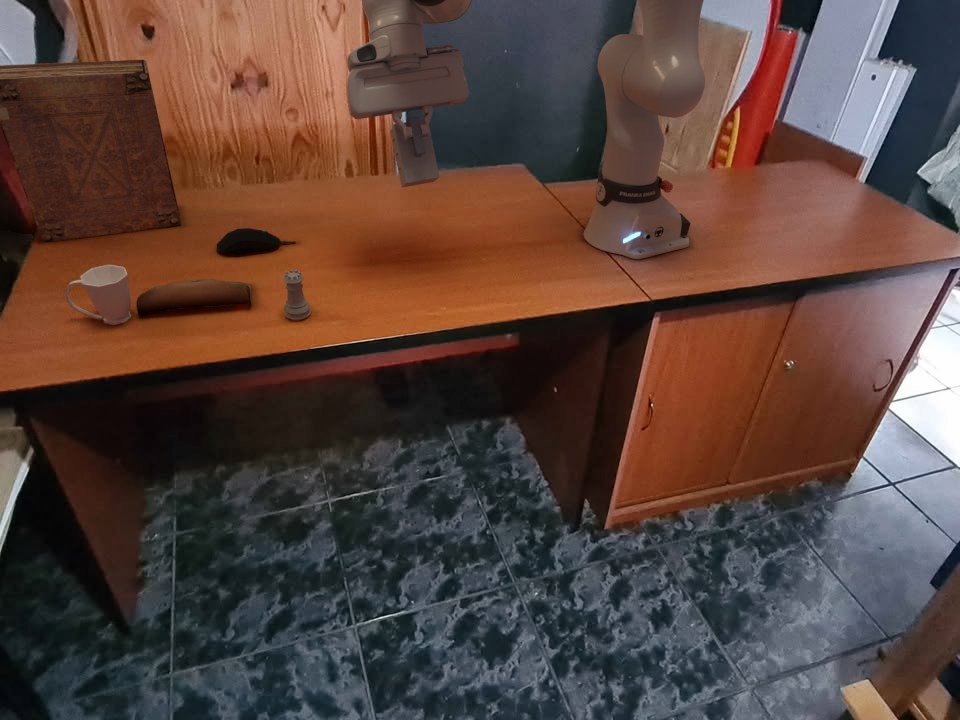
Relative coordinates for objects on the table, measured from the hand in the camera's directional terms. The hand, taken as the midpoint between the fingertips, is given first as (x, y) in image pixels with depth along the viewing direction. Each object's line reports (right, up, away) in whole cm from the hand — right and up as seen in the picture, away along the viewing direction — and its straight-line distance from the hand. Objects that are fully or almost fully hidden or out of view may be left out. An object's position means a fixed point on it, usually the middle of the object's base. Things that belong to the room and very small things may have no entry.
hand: (417, 137), depth 116 cm
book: (-64, -10, +24) cm, 69 cm away
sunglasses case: (-38, -27, +3) cm, 47 cm away
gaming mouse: (-33, -15, +20) cm, 42 cm away
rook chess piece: (-20, -30, +2) cm, 36 cm away
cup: (-51, -31, -2) cm, 59 cm away
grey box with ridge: (-2, -1, +9) cm, 9 cm away
